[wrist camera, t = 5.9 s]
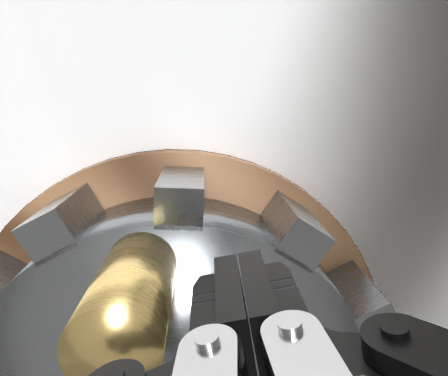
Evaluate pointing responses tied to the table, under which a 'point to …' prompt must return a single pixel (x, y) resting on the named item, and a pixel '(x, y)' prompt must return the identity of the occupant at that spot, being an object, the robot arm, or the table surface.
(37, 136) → the table surface
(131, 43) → the table surface
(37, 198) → the sprocket base
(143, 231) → the sprocket wheel
